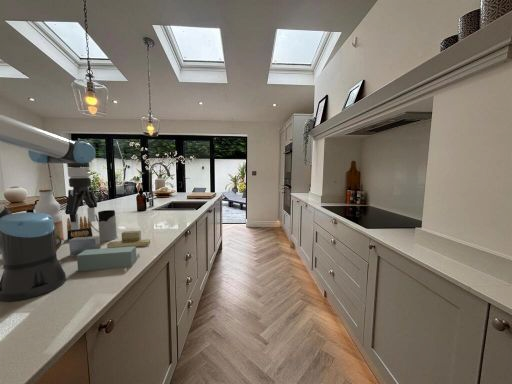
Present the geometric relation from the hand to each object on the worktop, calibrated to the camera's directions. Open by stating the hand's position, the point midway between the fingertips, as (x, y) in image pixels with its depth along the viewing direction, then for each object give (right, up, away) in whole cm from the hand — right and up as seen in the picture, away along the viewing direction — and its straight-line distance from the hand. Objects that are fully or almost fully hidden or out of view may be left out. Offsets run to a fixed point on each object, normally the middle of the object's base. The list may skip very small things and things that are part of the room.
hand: (84, 225), depth 98 cm
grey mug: (-7, -11, +22) cm, 25 cm away
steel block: (0, -13, +1) cm, 13 cm away
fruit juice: (-25, -12, +11) cm, 30 cm away
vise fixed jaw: (+19, -14, -10) cm, 25 cm away
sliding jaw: (+14, -11, +12) cm, 22 cm away
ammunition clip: (-20, -11, +23) cm, 33 cm away
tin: (-18, -13, -1) cm, 22 cm away
